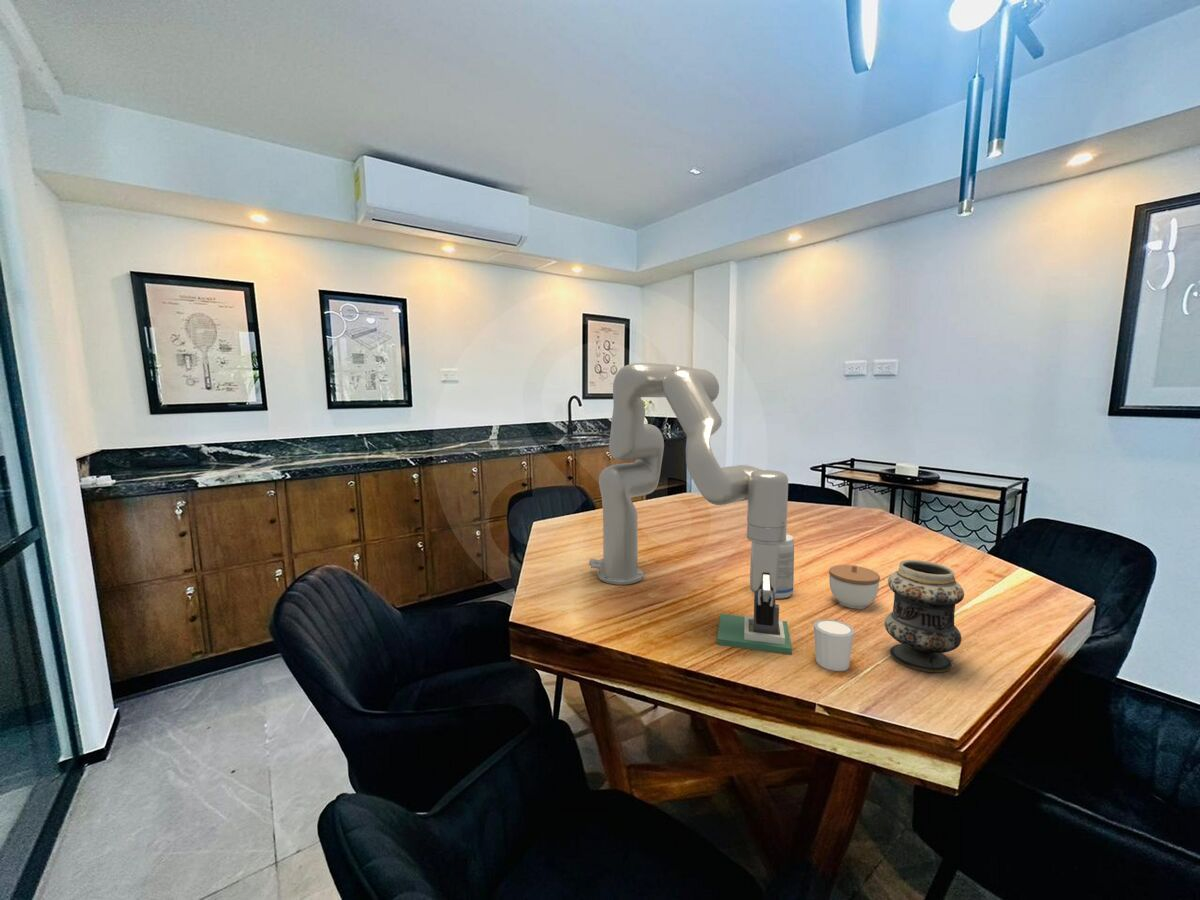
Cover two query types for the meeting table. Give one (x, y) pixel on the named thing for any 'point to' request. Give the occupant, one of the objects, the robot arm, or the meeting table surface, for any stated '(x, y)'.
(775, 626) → the plug
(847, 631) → the white cylinder
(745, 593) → the meeting table surface
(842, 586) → the lidded jar
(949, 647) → the apothecary jar
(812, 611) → the meeting table surface
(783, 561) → the supplement tub
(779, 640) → the board
